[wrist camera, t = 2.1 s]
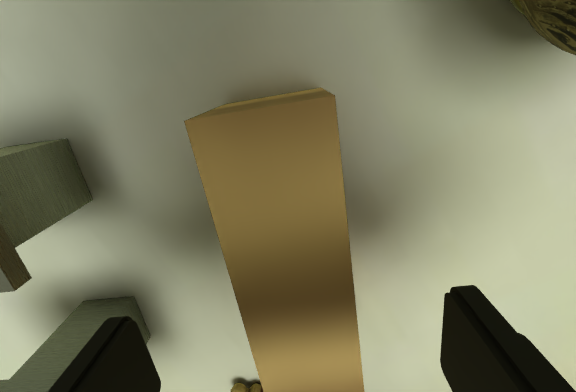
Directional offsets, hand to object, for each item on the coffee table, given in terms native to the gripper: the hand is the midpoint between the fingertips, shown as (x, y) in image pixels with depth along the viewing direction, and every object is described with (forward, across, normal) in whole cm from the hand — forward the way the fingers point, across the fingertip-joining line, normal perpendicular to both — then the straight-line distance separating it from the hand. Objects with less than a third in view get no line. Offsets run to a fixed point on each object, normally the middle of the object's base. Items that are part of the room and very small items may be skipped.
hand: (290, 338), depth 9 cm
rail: (+6, 0, -1) cm, 6 cm away
